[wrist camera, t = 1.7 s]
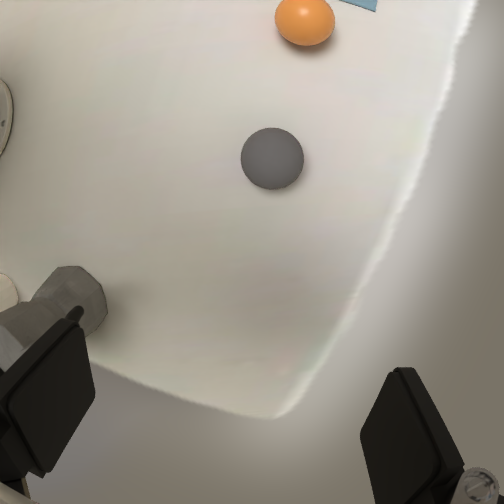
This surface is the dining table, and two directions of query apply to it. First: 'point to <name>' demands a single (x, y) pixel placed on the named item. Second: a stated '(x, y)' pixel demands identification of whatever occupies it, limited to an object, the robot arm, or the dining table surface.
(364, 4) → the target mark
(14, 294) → the shot glass
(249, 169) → the gray sphere
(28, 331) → the coffeepot
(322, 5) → the object ball
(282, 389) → the dining table surface
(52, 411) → the robot arm
